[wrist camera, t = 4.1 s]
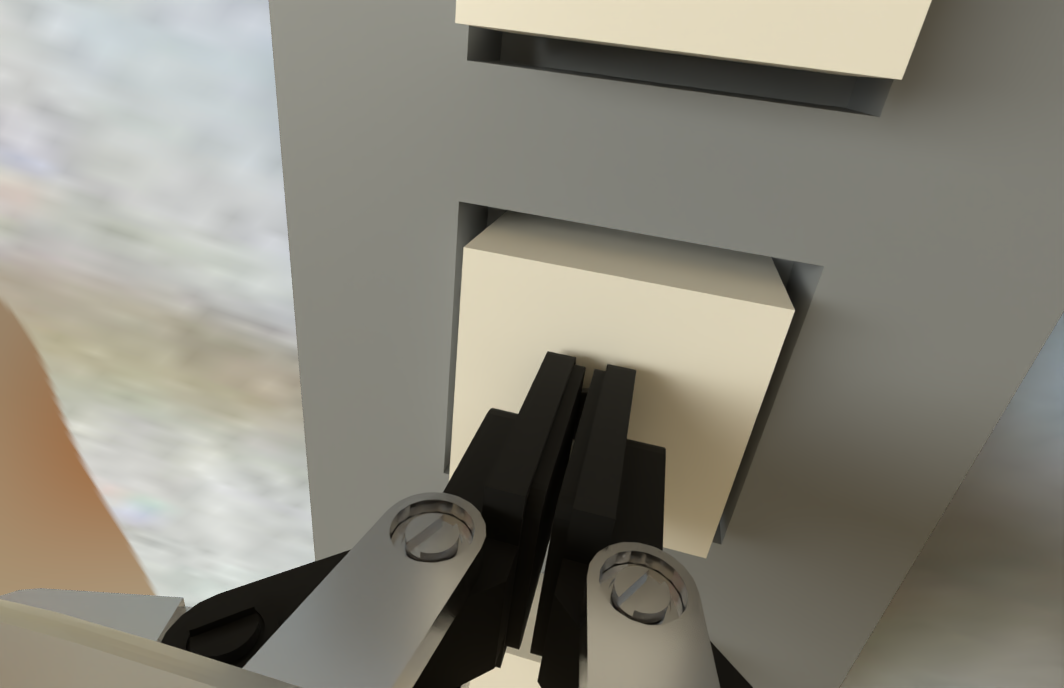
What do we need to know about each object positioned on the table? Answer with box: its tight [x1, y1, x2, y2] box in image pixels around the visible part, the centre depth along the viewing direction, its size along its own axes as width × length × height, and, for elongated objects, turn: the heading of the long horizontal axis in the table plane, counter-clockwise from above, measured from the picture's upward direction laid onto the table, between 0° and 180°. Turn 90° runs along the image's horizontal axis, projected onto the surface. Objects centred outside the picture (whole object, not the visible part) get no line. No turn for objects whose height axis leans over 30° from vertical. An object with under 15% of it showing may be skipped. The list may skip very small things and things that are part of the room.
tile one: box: [449, 210, 795, 558], centre depth 12 cm, size 6×6×3 cm
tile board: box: [269, 0, 1064, 688], centre depth 13 cm, size 14×28×2 cm, turn 173°
